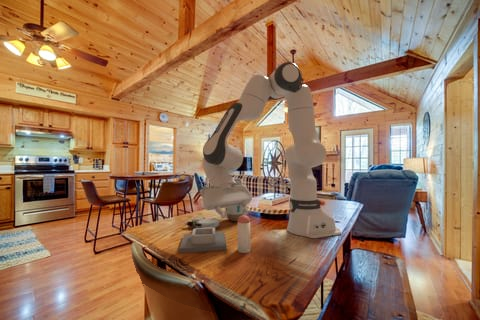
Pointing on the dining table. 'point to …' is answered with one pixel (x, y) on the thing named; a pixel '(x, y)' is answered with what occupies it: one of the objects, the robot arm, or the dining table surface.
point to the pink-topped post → (243, 234)
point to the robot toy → (204, 222)
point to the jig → (203, 241)
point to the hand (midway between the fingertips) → (235, 215)
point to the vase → (234, 212)
